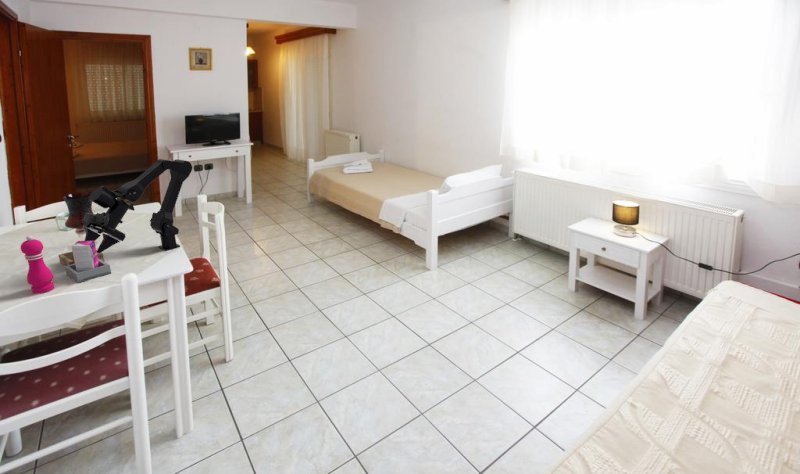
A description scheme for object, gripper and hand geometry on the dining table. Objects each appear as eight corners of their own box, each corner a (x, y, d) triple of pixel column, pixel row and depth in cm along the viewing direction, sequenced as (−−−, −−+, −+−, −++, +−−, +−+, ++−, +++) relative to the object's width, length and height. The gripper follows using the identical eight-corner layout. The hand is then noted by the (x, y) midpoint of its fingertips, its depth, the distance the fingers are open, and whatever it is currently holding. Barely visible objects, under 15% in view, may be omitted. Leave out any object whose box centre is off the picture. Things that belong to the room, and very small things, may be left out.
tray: (111, 273, 173) (109, 264, 172) (78, 283, 165) (76, 274, 164) (98, 265, 180) (96, 257, 178) (66, 275, 171) (64, 266, 170)
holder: (104, 261, 184) (102, 253, 182) (71, 270, 175) (69, 262, 174) (92, 254, 190) (90, 246, 189) (60, 263, 181) (58, 254, 180)
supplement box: (95, 274, 170) (88, 245, 166) (77, 275, 169) (69, 246, 165) (100, 267, 175) (94, 239, 172) (83, 269, 174) (76, 240, 170)
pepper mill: (39, 285, 163) (24, 232, 156) (60, 284, 164) (47, 232, 157) (25, 294, 156) (9, 239, 149) (48, 294, 157) (33, 239, 150)
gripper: (82, 200, 174) (57, 235, 169) (110, 207, 165) (85, 245, 160) (107, 214, 183) (84, 248, 178) (135, 222, 175) (112, 259, 170)
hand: (91, 250), depth 171 cm, fingers open, 9 cm apart
